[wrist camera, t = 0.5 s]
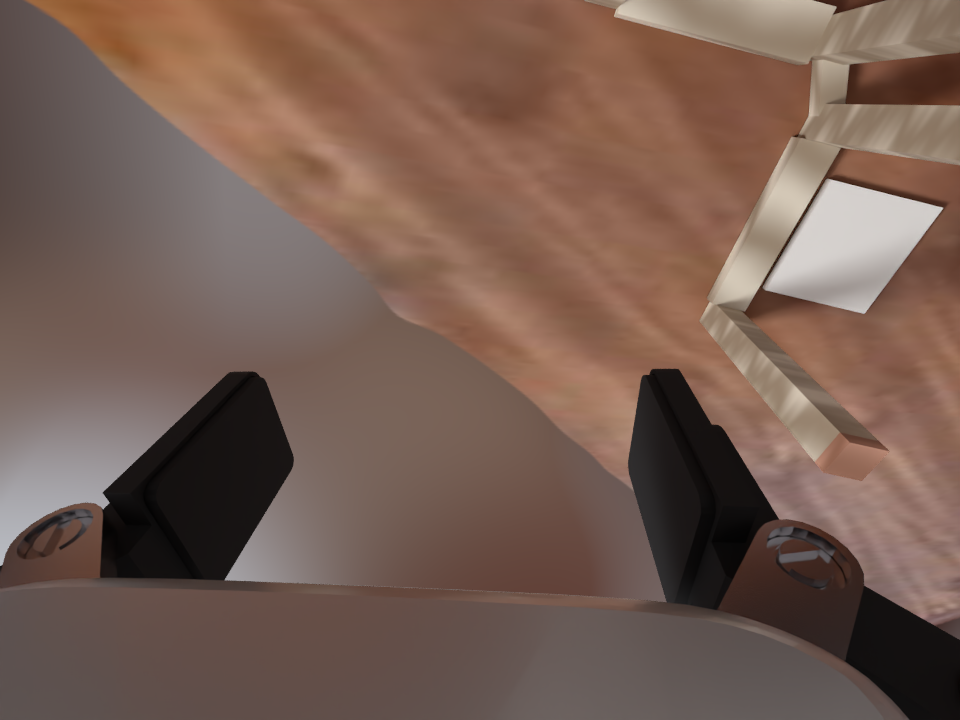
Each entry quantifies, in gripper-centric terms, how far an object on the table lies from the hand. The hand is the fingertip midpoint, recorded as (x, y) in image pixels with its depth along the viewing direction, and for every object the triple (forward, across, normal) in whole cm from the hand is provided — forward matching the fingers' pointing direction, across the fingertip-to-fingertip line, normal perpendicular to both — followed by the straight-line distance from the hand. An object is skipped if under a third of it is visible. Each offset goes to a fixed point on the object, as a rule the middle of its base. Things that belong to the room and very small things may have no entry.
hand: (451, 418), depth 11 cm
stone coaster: (+29, -28, +5) cm, 40 cm away
